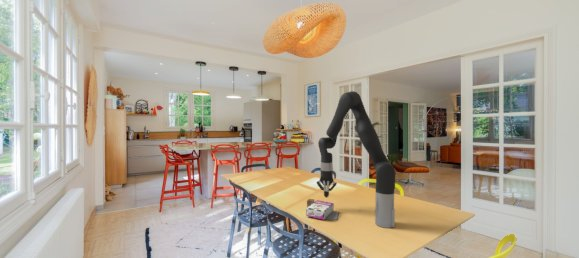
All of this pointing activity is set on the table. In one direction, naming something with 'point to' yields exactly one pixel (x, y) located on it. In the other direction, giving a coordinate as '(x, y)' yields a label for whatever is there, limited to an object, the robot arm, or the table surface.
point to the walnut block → (310, 202)
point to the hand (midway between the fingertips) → (326, 197)
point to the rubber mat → (332, 216)
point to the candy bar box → (319, 209)
